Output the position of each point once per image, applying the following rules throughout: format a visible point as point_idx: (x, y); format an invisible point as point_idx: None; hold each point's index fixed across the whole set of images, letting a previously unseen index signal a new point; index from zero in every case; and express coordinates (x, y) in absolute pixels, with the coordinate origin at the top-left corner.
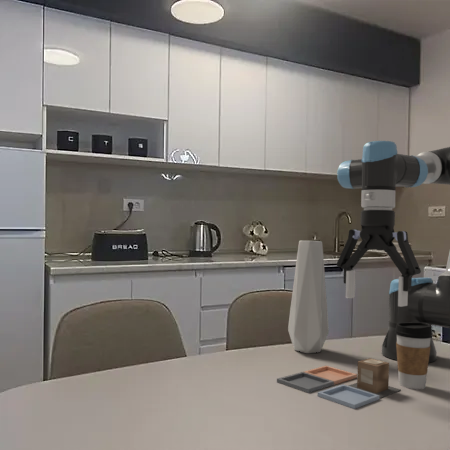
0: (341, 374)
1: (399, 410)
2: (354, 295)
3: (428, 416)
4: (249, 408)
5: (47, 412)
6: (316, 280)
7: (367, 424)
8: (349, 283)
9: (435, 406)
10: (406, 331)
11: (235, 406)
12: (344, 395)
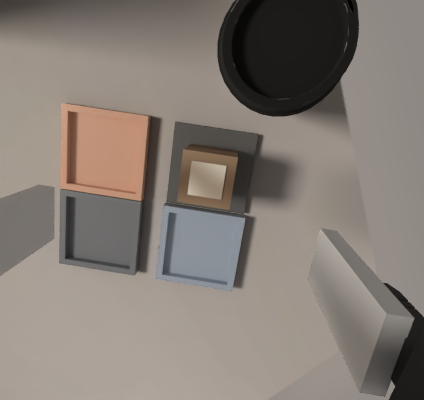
0: (114, 121)
1: (290, 234)
2: (47, 192)
3: (339, 228)
4: (115, 372)
5: None
6: None
7: (271, 320)
8: (3, 265)
9: (338, 168)
10: (277, 111)
11: (96, 378)
12: (189, 242)
